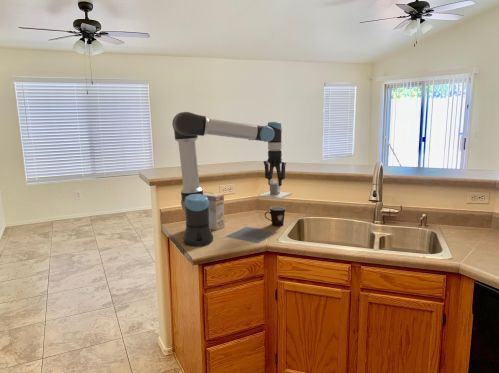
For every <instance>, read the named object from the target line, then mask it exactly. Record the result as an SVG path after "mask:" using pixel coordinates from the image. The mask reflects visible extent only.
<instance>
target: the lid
mask: <svg viewBox="0 0 499 373" xmlns="http://www.w3.org/2000/svg"><path fill="white" fill-rule="evenodd" d="M292 194H293V193H292V192H285V191H280V192H277V182H273V183H272V184H270V185H269V191H266V192H263V193H261V194H258V195H257V197H258V198H265V199H272V200H273V199H274V200H283V199H284V198H287V197H289V196H292Z"/></svg>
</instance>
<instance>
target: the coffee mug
mask: <svg viewBox="0 0 499 373" xmlns="http://www.w3.org/2000/svg"><path fill="white" fill-rule="evenodd" d="M285 213H286V207H284V206H272V207H270V209H269V211H266V212H265V213H264V217H265V218H266V219H267V220H268V221H270V222H271V226H274V227H283V226H284V221H285ZM267 214H270V218H271V219H270V218H268V217H267Z"/></svg>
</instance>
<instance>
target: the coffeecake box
mask: <svg viewBox="0 0 499 373" xmlns="http://www.w3.org/2000/svg"><path fill="white" fill-rule="evenodd" d="M203 195H205V196H207V198H208V201H209V226H210V229H211V230H213V231H219V230H222V229H225V227H226V226H225V224H226V223H225V222H226V221H225V196H224V194H222V193H215V192H209V191H203Z"/></svg>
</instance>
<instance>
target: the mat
mask: <svg viewBox="0 0 499 373" xmlns="http://www.w3.org/2000/svg"><path fill="white" fill-rule="evenodd" d="M277 233H278V232H277V231H272V230H267V229H261V228H257V227H256V228H255V227H250V226H249V227H248V226H245V227H242V228H241V229H239V230H237V231H234V232H232V233H230V234H228V235H225V238H230V239H235V240H241V241H245V242H249V243H256V244H259V243H261V242H262V241H265V240H267V238H270V237H271V236H273V235H275V234H277Z"/></svg>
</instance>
